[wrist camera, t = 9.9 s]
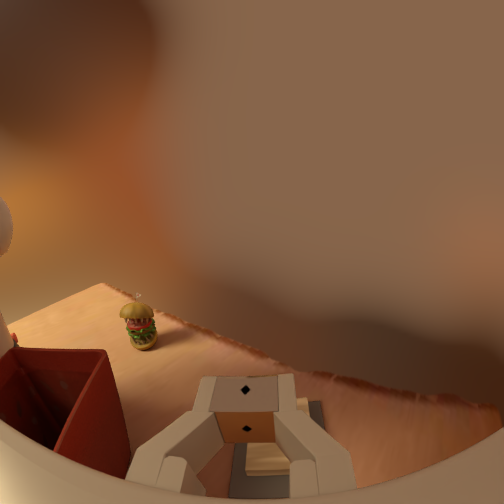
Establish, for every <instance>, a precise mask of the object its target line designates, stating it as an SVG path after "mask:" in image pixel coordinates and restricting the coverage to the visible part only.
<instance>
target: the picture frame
mask: <svg viewBox="0 0 504 504" xmlns="http://www.w3.org/2000/svg"><path fill="white" fill-rule="evenodd" d="M296 400H297V410H303V411H304V412H305V413H306V414H307V415H308V416H309V417H310V415H309V407H308V400H307V397H302V398H296ZM290 464H291V462H290V461H289V460H288V459H287V457H286V456H285V455H284V454H283V452H282V451H281V450H280V448H279V447H278V446H277V445H276V443H248V444H247V455H246V466H245V471H246V474H247V476H271V475H289V474H290Z"/></svg>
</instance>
